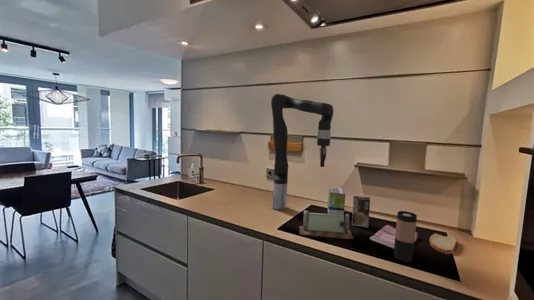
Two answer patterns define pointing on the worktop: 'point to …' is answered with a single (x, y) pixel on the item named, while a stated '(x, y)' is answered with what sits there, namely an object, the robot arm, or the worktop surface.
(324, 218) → the gate
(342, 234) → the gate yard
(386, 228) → the dish towel
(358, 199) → the coffee box
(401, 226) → the travel mug
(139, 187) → the worktop surface
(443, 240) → the slice of bread
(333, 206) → the tea box
